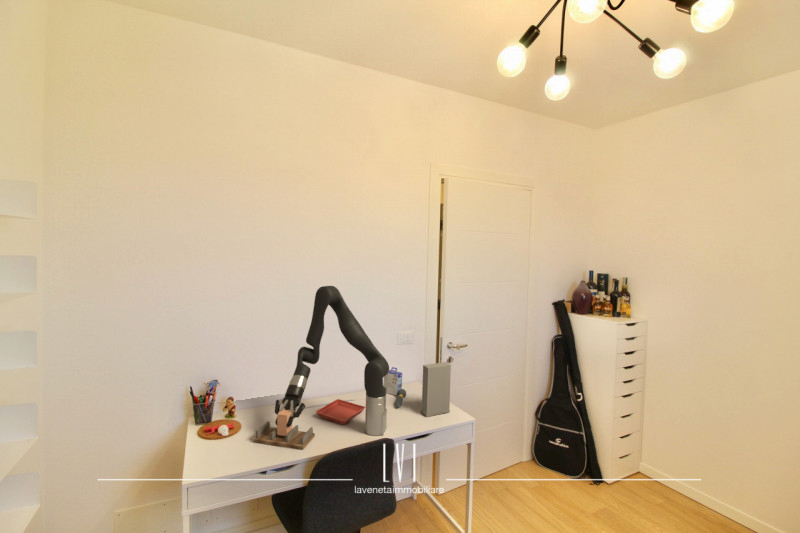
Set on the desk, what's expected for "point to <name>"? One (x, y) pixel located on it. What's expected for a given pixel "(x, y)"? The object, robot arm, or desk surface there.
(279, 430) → the terracotta block
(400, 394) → the flashlight
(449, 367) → the tall grey upright block
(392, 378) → the ink cartridge box
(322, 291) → the robot arm
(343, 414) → the plant saucer
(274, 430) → the walnut rack
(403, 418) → the desk surface
